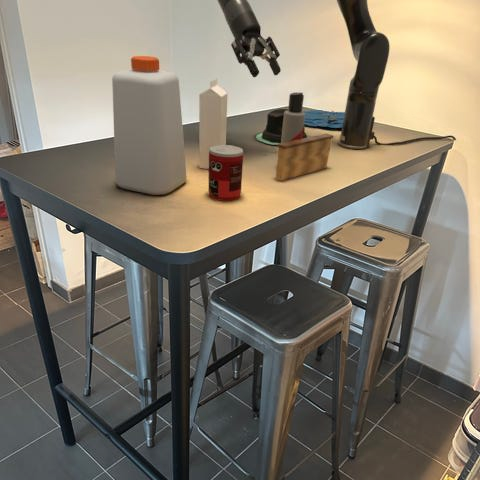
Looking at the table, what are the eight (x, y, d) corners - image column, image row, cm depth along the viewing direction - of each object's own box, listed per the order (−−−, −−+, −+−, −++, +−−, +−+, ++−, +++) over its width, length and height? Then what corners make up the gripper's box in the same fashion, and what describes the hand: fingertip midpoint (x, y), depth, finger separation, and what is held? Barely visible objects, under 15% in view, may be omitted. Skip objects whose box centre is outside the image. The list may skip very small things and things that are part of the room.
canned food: (207, 189, 115) (208, 144, 109) (239, 190, 116) (241, 145, 110) (208, 200, 109) (209, 153, 103) (242, 201, 110) (244, 154, 103)
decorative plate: (311, 136, 169) (313, 121, 166) (277, 116, 192) (278, 102, 188) (378, 129, 178) (381, 115, 175) (338, 111, 200) (340, 98, 197)
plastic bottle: (109, 187, 112) (94, 57, 96) (141, 170, 124) (133, 51, 107) (164, 199, 108) (158, 64, 92) (192, 180, 120) (191, 58, 104)
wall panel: (321, 165, 136) (326, 133, 131) (328, 168, 135) (333, 135, 130) (273, 178, 125) (277, 143, 119) (280, 181, 123) (284, 146, 118)
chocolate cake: (279, 126, 170) (326, 138, 161) (250, 159, 165) (296, 174, 156) (272, 89, 158) (322, 100, 148) (240, 123, 152) (290, 137, 143)
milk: (199, 168, 129) (198, 80, 116) (205, 162, 133) (205, 77, 120) (219, 170, 128) (221, 82, 115) (225, 164, 132) (228, 79, 119)
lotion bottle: (296, 172, 130) (306, 95, 118) (277, 170, 131) (285, 93, 119) (298, 166, 135) (308, 91, 123) (279, 164, 135) (287, 89, 124)
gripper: (229, 9, 119) (257, 66, 119) (267, 10, 127) (293, 63, 127) (215, 31, 125) (241, 85, 125) (252, 30, 133) (277, 81, 133)
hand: (267, 74), depth 126 cm, fingers open, 8 cm apart
